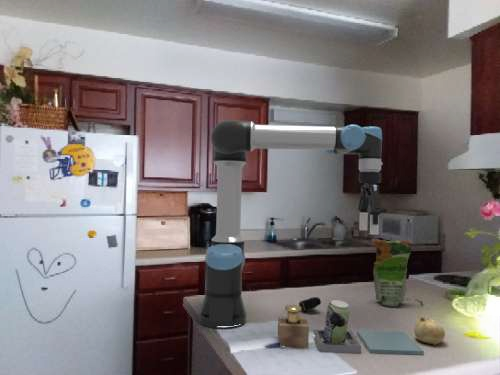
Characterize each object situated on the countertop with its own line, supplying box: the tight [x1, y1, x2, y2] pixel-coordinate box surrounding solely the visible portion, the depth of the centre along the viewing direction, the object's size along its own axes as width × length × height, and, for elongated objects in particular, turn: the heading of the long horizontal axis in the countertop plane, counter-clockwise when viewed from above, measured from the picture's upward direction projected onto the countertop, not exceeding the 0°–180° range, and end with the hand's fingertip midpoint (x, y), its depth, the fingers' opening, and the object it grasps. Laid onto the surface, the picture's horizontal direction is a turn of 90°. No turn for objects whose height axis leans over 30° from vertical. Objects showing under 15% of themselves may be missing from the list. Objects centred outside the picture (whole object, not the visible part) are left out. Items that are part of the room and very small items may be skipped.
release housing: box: [277, 315, 310, 349], centre depth 108 cm, size 8×8×6 cm
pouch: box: [372, 238, 412, 307], centre depth 148 cm, size 11×12×25 cm
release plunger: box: [284, 304, 302, 324], centre depth 108 cm, size 4×4×7 cm
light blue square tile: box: [356, 329, 425, 356], centre depth 109 cm, size 14×14×1 cm
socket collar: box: [312, 329, 362, 354], centre depth 107 cm, size 11×11×2 cm
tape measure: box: [298, 297, 322, 312], centre depth 136 cm, size 7×7×4 cm
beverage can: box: [322, 299, 351, 344], centre depth 107 cm, size 6×7×12 cm
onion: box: [413, 316, 446, 346], centre depth 111 cm, size 8×8×7 cm
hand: (368, 232), depth 135 cm, fingers open, 13 cm apart
